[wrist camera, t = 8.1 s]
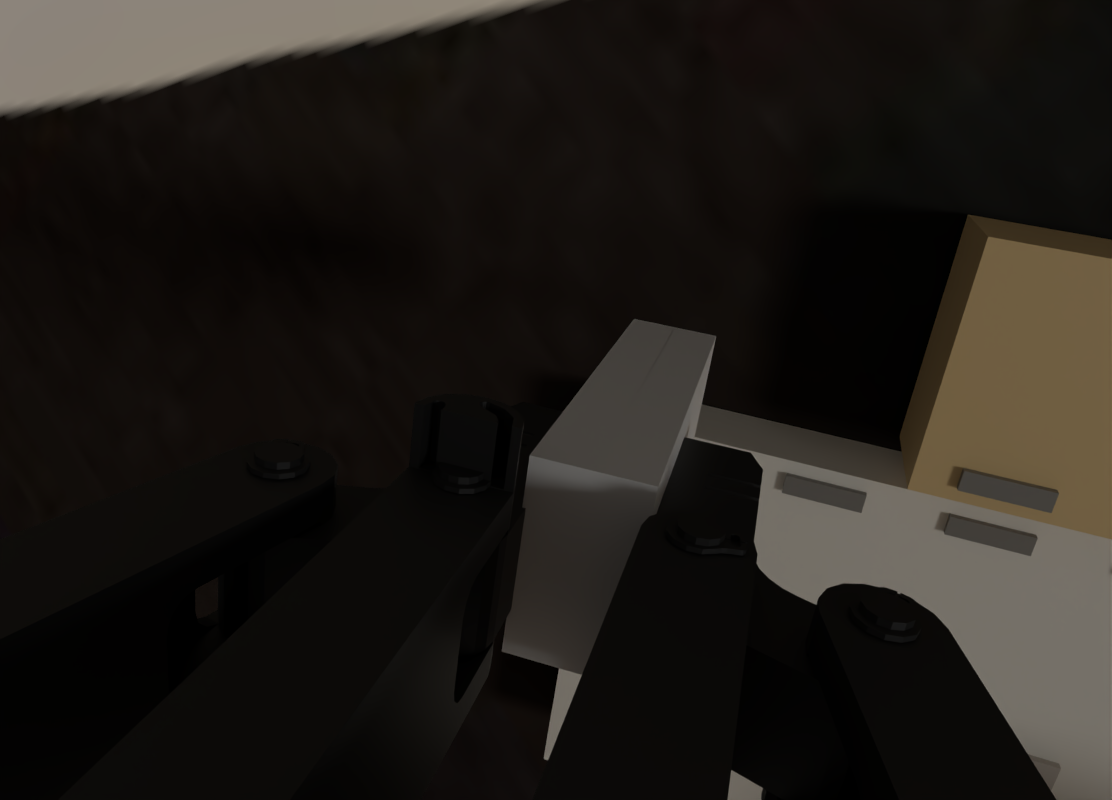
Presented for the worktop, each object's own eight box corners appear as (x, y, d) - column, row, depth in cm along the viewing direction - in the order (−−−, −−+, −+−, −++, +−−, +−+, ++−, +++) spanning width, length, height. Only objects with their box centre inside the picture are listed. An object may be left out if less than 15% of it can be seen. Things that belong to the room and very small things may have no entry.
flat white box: (565, 709, 31) (541, 762, 28) (623, 386, 26) (600, 416, 24) (1067, 873, 27) (1089, 951, 25) (1233, 530, 23) (1279, 584, 20)
